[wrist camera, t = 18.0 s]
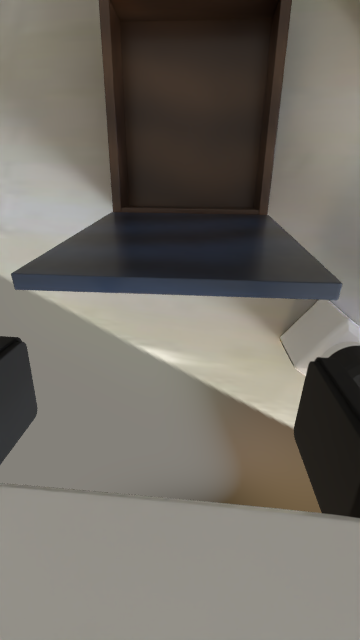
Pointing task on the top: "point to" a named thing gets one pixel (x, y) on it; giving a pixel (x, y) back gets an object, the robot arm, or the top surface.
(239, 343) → the top surface
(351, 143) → the top surface
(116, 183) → the brown tray
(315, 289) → the lid
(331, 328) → the medicine bottle
